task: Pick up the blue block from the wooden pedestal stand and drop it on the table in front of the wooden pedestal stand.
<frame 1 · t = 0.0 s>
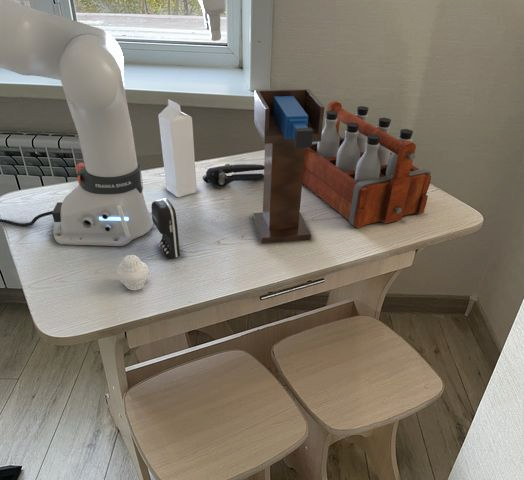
hand: (213, 34, 94), 39 cm above the table, tool pointing down, fingers open, 8 cm apart
milk bottle holder: (356, 196, 132), on the table
muffin: (135, 286, 100), on the table
can opener: (235, 183, 136), on the table
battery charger: (167, 252, 110), on the table
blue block: (289, 127, 100), point 24 cm above the table, touching wooden pedestal stand
wooden pedestal stand: (280, 229, 118), on the table
milk: (181, 191, 132), on the table
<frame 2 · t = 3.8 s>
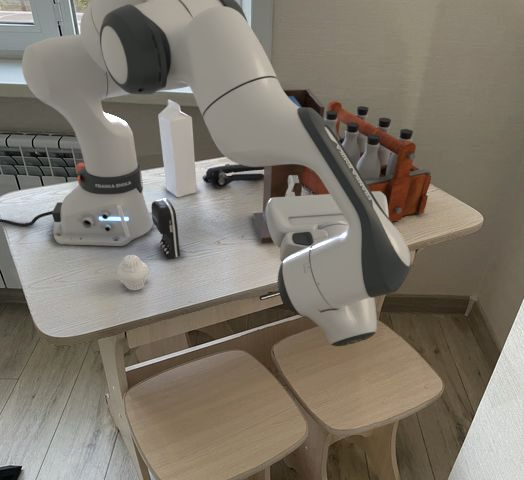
hand: (319, 175, 84), 24 cm above the table, tool pointing upward, fingers open, 8 cm apart
nothing on the table moved.
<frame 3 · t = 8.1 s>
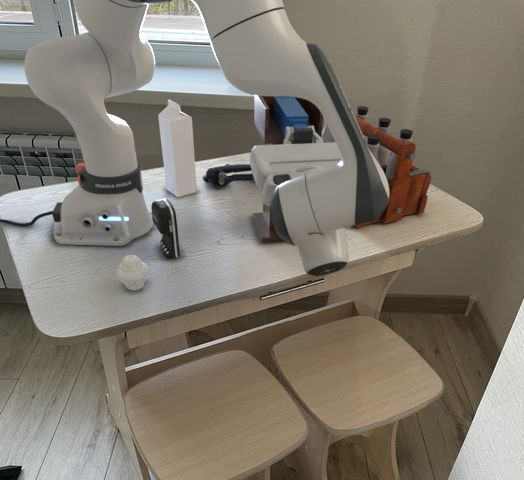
hand: (298, 128, 93), 27 cm above the table, tool pointing upward, fingers closed on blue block, 2 cm apart
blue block: (289, 127, 100), point 24 cm above the table, touching wooden pedestal stand, gripper
everything else where it was.
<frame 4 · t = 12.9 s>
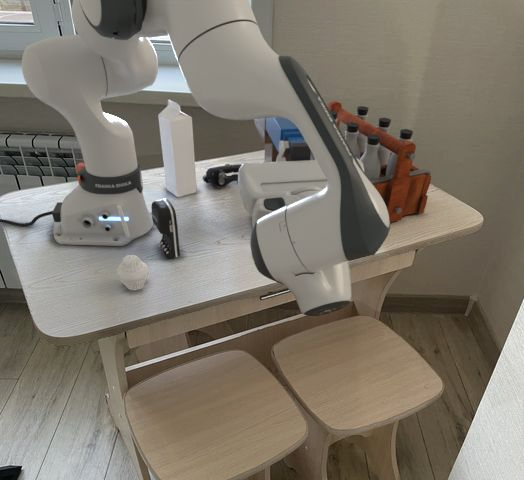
hand: (294, 142, 81), 29 cm above the table, tool pointing upward, fingers closed on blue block, 2 cm apart
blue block: (283, 140, 88), point 27 cm above the table, touching gripper
everything else where it was.
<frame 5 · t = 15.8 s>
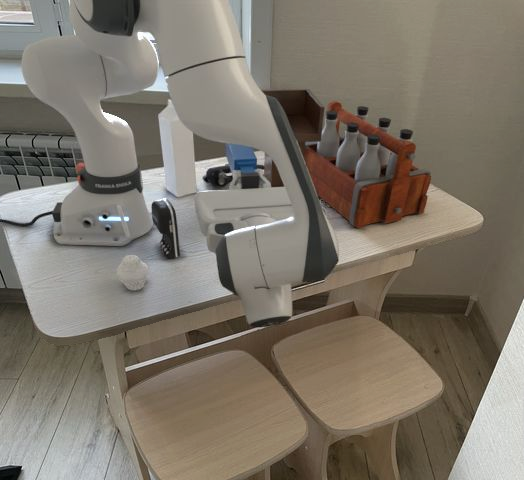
hand: (246, 171, 90), 22 cm above the table, tool pointing upward, fingers closed on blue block, 2 cm apart
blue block: (240, 167, 97), point 19 cm above the table, touching gripper
everything else where it was.
when the fingers open (16 cm above the table, at t = 18.0 s): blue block drops 13 cm, on the table.
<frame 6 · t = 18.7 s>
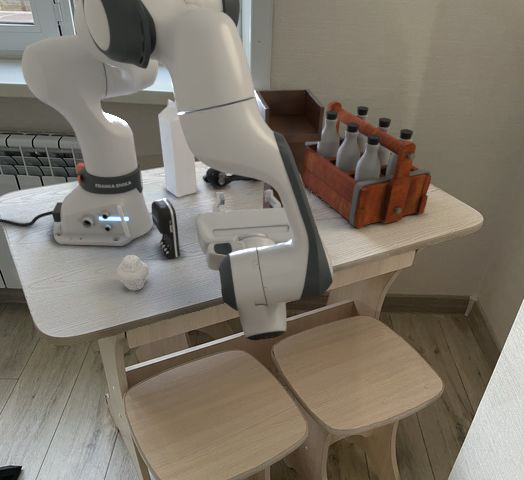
hand: (244, 192, 96), 16 cm above the table, tool pointing upward, fingers open, 8 cm apart
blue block: (239, 247, 112), on the table
everything else where it was.
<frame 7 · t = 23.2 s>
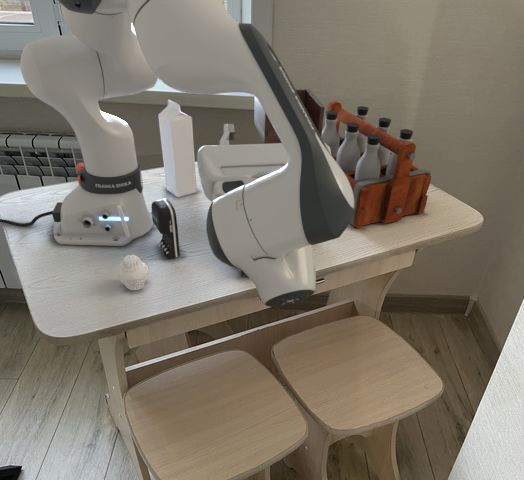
hand: (258, 125, 76), 33 cm above the table, tool pointing upward, fingers open, 8 cm apart
nothing on the table moved.
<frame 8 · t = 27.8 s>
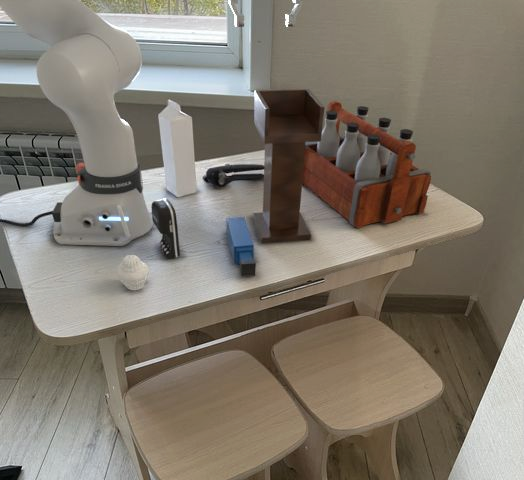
hand: (265, 26, 90), 41 cm above the table, tool pointing down, fingers open, 8 cm apart
nothing on the table moved.
at the end: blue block inside the target area (1.1 cm from its centre), on the table; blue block touching table; the gripper is holding nothing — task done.
